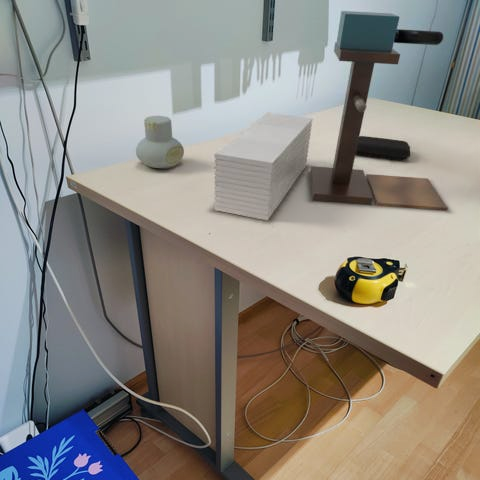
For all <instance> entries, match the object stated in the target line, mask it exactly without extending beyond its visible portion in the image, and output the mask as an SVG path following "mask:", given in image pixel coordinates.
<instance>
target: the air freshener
mask: <svg viewBox="0 0 480 480" xmlns="http://www.w3.org/2000/svg"><path fill="white" fill-rule="evenodd" d="M143 122H144V133H145V134H144V135H145V137H144V138H143V139H141V140H140V141H139V142H138V143H137V145H136V148H135V154H136V157H137V159H138V160H139V161H140V163H142V164H144V165H145V166H147V167H149V168H154V169H171V168H173V167H174V166H176V165H178V164H179V163H180V162H181V161H182V160H183V157H184V154H185V148H184V146H183V144H182V142H180V141H179V140H178V139H176V138H174V137H173V127H172V119H170V117H168V116H165V115H151V116H147V117H145V118H144V121H143Z"/></svg>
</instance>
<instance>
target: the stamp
mask: <svg viewBox="0 0 480 480" xmlns="http://www.w3.org/2000/svg"><path fill="white" fill-rule="evenodd" d="M399 22H400V16H399V15H397V14H394V13H391V12H390V13H389V12H369V11H352V10H351V11H350V10H341V11H340V18H339V23H338V30H337V37H336V42H337V43H336V44H337V45H338V47H339V48H340V49H352V50H369V51H386V52H392V49H393V47H394V44H406V45H408V44H409V45H423V46H424V45H425V46H439V45H440V44H442V42H443V40H444V34H443V32H442V31H436V30H434V31H433V30H420V29H419V30H418V29H417V30H416V29H400V28H398V26H399Z"/></svg>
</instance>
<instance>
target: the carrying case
mask: <svg viewBox="0 0 480 480" xmlns="http://www.w3.org/2000/svg"><path fill="white" fill-rule="evenodd" d="M356 155H357V156H361V157H362V156H363V157H369V158H378V159H385V160H394V161H405V160H407V159H408V158H410V157H411V145H409V143H408V141H405V140H399V139H391V138H383V137H377V136H376V137H374V136H365V135H359V140H358V145H357V150H356Z"/></svg>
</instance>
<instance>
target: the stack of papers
mask: <svg viewBox="0 0 480 480" xmlns="http://www.w3.org/2000/svg"><path fill="white" fill-rule="evenodd" d="M312 125H313V117H305V116H297V115H290V114H283V113H276V112H266V113H265V114H264V115H262V116H261V117H260V118H258V119H257V120H256V121H255V122H253V123H252V124H251V125H250V126H248V127H247V128H246V129H244V130H243V131H242V132H240V133H239V134H238V135H237V136H235V137H234V138H232V140H230V141H229V142H227V143H226V144H225V145H224V146H222V147H221V148H220V149H219V150H217V151H216V152H215V153H214V211H216V212H217V211H218V212H223V213H228V214H232V215H239V216H242V217H243V216H244V217H248V218H253V219H258V220H262V221H269V219H270V218H271V216H272V215H273V214H274V212H275V210H276V209H277V208H278V206H279V205H280V204H281V202H282V201H283V200H284V198H285V197H286V195H287V194H288V192H289V191H290V190H291V188H292V187H293V185H294V184H295V182H296V181H297V180H298V178H299V177H300V175H301V174H302V173H303V171H304V170H305V168H306V167H307V161H308V155H309V154H308V153H309V147H310V139H311V132H312V128H313V127H312Z"/></svg>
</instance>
